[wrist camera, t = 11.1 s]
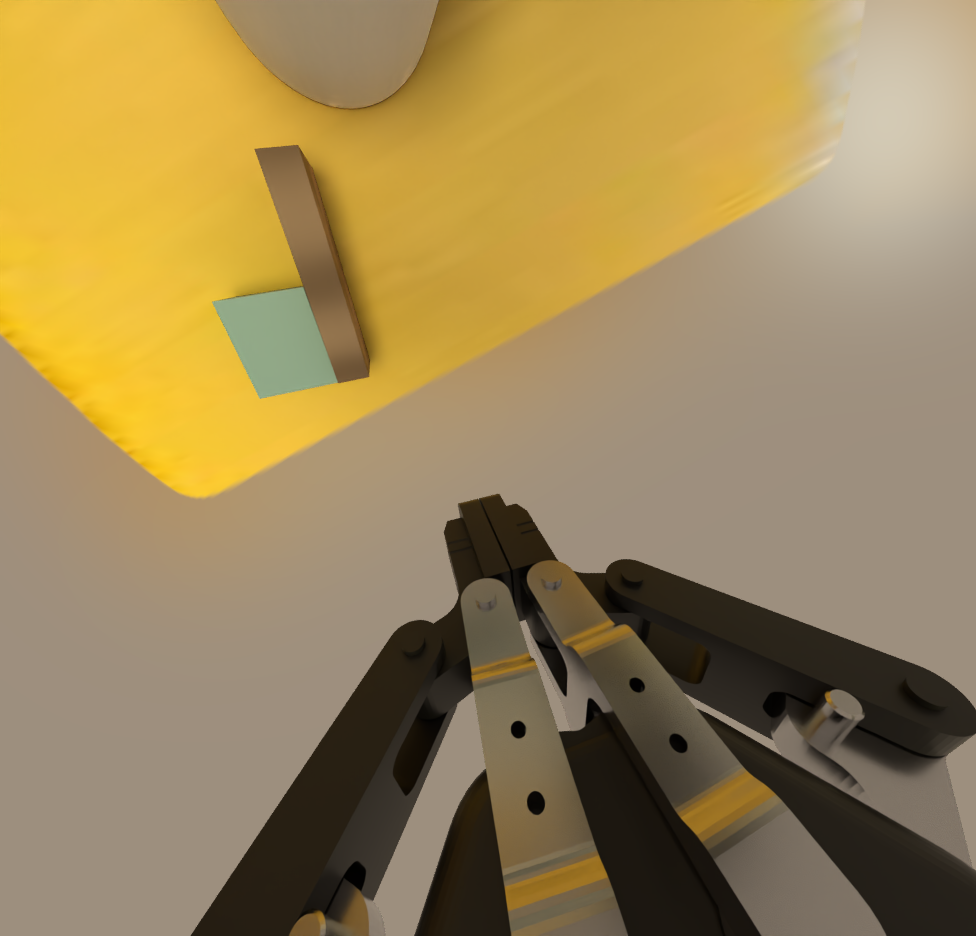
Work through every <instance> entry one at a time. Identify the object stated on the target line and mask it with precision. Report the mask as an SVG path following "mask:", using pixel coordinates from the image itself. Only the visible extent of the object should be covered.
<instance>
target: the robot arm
mask: <svg viewBox="0 0 976 936" xmlns="http://www.w3.org/2000/svg"><path fill="white" fill-rule="evenodd" d="M458 507H459V513H460V518H458V519H454V520H450V521H447V524H446V527H445V530H444V535H445V540H446V544H447V549H448V554H449V558H450V563H451V567H452V571H453V575H454V578H455V582H456V586H457V590H458V594H459V596H458V600H457V603H456V604H455V606H454V608H453V609H452V610H451V611H450V612H449V613H448V614H447V615H446V616H444V617H443V618H441V619H440V620H438V621H437V622H435V623H434V624H433V623H431V622H429V621H424V620H417V621H411V622H409V623H406V624H404V625H403V626H401V627H400V628H398V629H397V630H396V631H395V632H394V633H393V635H392V636H391V637H390V639H389V640H388V642H387V643H386V645H385V646H384V648H383V649H382V651H381V652H380V654H379V655H378V657H377V658H376V660H375V661H374V663H373V664H372V666H371V667H370V669H369V670H368V672H367V673H366V675H365V676H364V678H363V679H362V681H361V682H360V684H359V685H358V687H357V688H356V690H355V691H354V693H353V694H352V696H351V697H350V698H349V700H348V702H347V703H346V705H345V706H344V707H343V709H342V710H341V712H340V713H339V715H338V717H337V718H336V719H335V721H334V722H333V724H332V725H331V727H330V728H329V730H328V731H327V733H326V734H325V736H324V737H323V739H322V740H321V742H320V743H319V745H318V747H317V748H316V749H315V751H314V752H313V754H312V756H311V757H310V758H309V760H308V761H307V763H306V764H305V766H304V767H303V769H302V770H301V772H300V773H299V775H298V776H297V778H296V779H295V781H294V782H293V784H292V785H291V787H290V788H289V790H288V791H287V793H286V794H285V795H284V797H283V798H282V800H281V801H280V803H279V804H278V806H277V808H276V809H275V810H274V812H273V813H272V815H271V816H270V818H269V819H268V821H267V822H266V824H265V826H264V827H263V829H262V830H261V831H260V833H259V834H258V836H257V837H256V839H255V840H254V842H253V843H252V845H251V846H250V848H249V849H248V851H247V852H246V854H245V855H244V857H243V858H242V860H241V861H240V863H239V864H238V866H237V867H236V869H235V870H234V872H233V873H232V875H231V876H230V878H229V879H228V881H227V882H226V884H225V885H224V887H223V888H222V890H221V891H220V892H219V894H218V895H217V897H216V899H215V900H214V902H213V903H212V904H211V906H210V908H209V909H208V911H207V912H206V913H205V915H204V916H203V918H202V919H201V921H200V922H199V924H198V925H197V927H196V928H195V930H194V932H193V933H192V934H191V936H385V928H384V922H383V918H382V915H381V913H380V911H379V909H378V907H377V906H376V904H375V903H374V902H373V900H374V897H375V895H376V893H377V890H378V888H379V886H380V884H381V881H382V879H383V877H384V874H385V872H386V870H387V867H388V865H389V863H390V860H391V858H392V856H393V854H394V851H395V849H396V846H397V844H398V842H399V840H400V837H401V835H402V833H403V830H404V828H405V826H406V824H407V821H408V819H409V817H410V814H411V812H412V809H413V807H414V805H415V803H416V800H417V798H418V796H419V794H420V791H421V789H422V787H423V784H424V782H425V780H426V777H427V775H428V773H429V770H430V768H431V766H432V763H433V761H434V758H435V756H436V754H437V752H438V750H439V747H440V745H441V743H442V740H443V738H444V736H445V733H446V731H447V729H448V727H449V724H450V722H451V719H452V717H453V715H454V713H455V710H456V707H457V703H458V702H460V701H461V700H462V699H464V698H465V697H466V696H467V695H468V694H470V693H471V692H473V691H474V695H475V702H476V708H477V715H478V721H479V727H480V734H481V740H482V746H483V753H484V758H485V765H486V769H485V770H484V771H483V772H482V773H481V774H480V775H479V776H478V777H477V778H476V779H475V780H474V782H473V783H472V784H471V786H470V787H469V788H468V790H467V791H466V793H465V795H464V797H463V799H462V800H461V802H460V804H459V806H458V808H457V811H456V813H455V815H454V817H453V820H452V823H451V825H450V828H449V831H448V835H447V838H446V841H445V844H444V847H443V850H442V853H441V856H440V859H439V862H438V865H437V868H436V872H435V874H434V877H433V881H432V884H431V886H430V890H429V893H428V896H427V899H426V902H425V905H424V908H423V911H422V914H421V917H420V920H419V923H418V926H417V929H416V932H415V935H414V936H976V870H974V869H973V868H972V865H971V860H970V856H969V853H968V848H967V844H966V840H965V836H964V832H963V828H962V824H961V821H960V816H959V812H958V808H957V804H956V801H955V797H954V793H953V789H952V785H951V781H950V777H949V773H948V769H947V765H946V756H947V755H948V754H949V753H951V752H952V751H953V750H954V749H956V748H957V747H959V746H960V745H961V744H963V743H964V742H965V741H967V740H968V739H969V738H971V737H972V736H973V735H974V734H976V710H975V708H974V706H973V705H972V704H971V703H970V701H969V700H968V699H967V698H966V697H965V696H964V695H963V694H962V693H961V692H960V691H959V690H958V689H957V688H955V687H954V686H953V685H951V684H950V683H949V682H947V681H946V680H944V679H943V678H941V677H940V676H938V675H936V674H935V673H933V672H931V671H929V670H927V669H925V668H923V667H920V666H918V665H915V664H912V663H910V662H907V661H905V660H902V659H899V658H896V657H894V656H891V655H888V654H886V653H883V652H880V651H878V650H875V649H872V648H869V647H867V646H864V645H862V644H859V643H856V642H854V641H851V640H848V639H846V638H843V637H840V636H838V635H835V634H832V633H830V632H827V631H824V630H821V629H819V628H816V627H813V626H811V625H808V624H805V623H803V622H800V621H797V620H794V619H792V618H789V617H787V616H784V615H781V614H779V613H776V612H773V611H770V610H768V609H765V608H762V607H760V606H757V605H754V604H752V603H749V602H746V601H744V600H741V599H738V598H736V597H733V596H730V595H728V594H725V593H722V592H719V591H717V590H714V589H711V588H709V587H706V586H703V585H700V584H698V583H695V582H693V581H690V580H687V579H685V578H682V577H679V576H676V575H674V574H671V573H668V572H666V571H663V570H660V569H658V568H655V567H652V566H650V565H647V564H644V563H642V562H639V561H636V560H630V559H623V560H618V561H615V562H613V563H611V564H610V565H609V566H608V568H607V570H606V573H579V572H575V571H573V570H572V569H571V568H570V567H569V566H567V565H566V564H564V563H561V562H559V561H558V560H557V559H556V557H555V555H554V554H553V552H552V550H551V549H550V547H549V546H548V544H547V542H546V541H545V539H544V538H543V536H542V534H541V533H540V531H539V530H538V528H537V526H536V525H535V523H534V522H533V520H532V518H531V516H530V515H529V513H528V512H527V510H525V509H523V508H522V507H520V506H519V505H518V504H513V505H509V506H506V505H505V503H504V502H503V500H502V498H501V496H500V494H496V495H491V496H487V497H483V498H479V500H478V499H475V500H471V501H467V502H463V503H459V504H458ZM523 620H526V622H527V624H528V626H529V629H530V638H531V643H532V645H533V647H534V649H535V651H536V653H537V655H538V657H539V659H540V661H541V663H542V665H543V667H544V669H545V671H546V673H547V675H548V676H549V679H550V681H551V682H552V685H553V687H554V689H555V691H556V692H557V694H558V696H559V698H560V700H561V703H562V705H563V708H564V710H565V714H566V718H567V721H568V724H569V727H570V730H571V731H562V732H558V729H557V726H556V723H555V720H554V716H553V713H552V710H551V707H550V704H549V701H548V698H547V695H546V692H545V689H544V686H543V682H542V680H541V676H540V673H539V671H538V667H537V665H536V662H535V660H534V659H533V658H531V656H530V654H529V651H528V648H527V645H526V641H525V638H524V635H523V632H522V629H521V625H520V623H519V622H520V621H523ZM684 693H685V694H687V695H689V696H691V697H693V698H694V699H696V700H698V701H700V702H702V703H704V704H706V705H708V706H710V707H711V708H713V709H715V710H717V711H719V712H721V713H723V714H725V715H727V716H729V717H730V718H732V719H734V720H736V721H738V722H740V723H741V724H743V725H745V726H747V727H749V728H751V729H753V730H755V731H757V732H758V733H760V734H762V735H764V736H766V737H768V738H770V739H772V740H773V741H774V743H775V745H776V747H777V748H778V750H779V751H780V753H781V755H779V754H778V753H776V752H774V751H772V750H771V749H769V748H767V747H765V746H764V745H762V744H760V743H759V742H757V741H755V740H753V739H752V738H750V737H748V736H746V735H745V734H743V733H741V732H739V731H738V730H736V729H734V728H733V727H731V726H729V725H727V724H725V723H724V722H722V721H720V720H719V719H717V718H715V717H713V716H711V715H710V714H708V713H706V712H703V711H701V710H699V709H697V708H695V707H694V705H693V704H692V703H691V702H690V701H689V699H688V698H687V697H686V695H685V694H684Z"/></svg>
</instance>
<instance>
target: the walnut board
mask: <svg viewBox="0 0 976 936" xmlns="http://www.w3.org/2000/svg"><path fill="white" fill-rule="evenodd" d="M255 152H256V154H257V157H258V160H259V163H260V166H261V168H262V171H263V174H264V177H265V180H266V182H267V185H268V188H269V191H270V194H271V196H272V199H273V202H274V205H275V208H276V210H277V213H278V216H279V219H280V222H281V224H282V227H283V230H284V233H285V236H286V238H287V241H288V244H289V247H290V250H291V252H292V255H293V258H294V261H295V264H296V266H297V269H298V272H299V275H300V278H301V281H302V283H303V286H304V289H305V292H306V295H307V297H308V300H309V303H310V306H311V309H312V311H313V314H314V317H315V320H316V323H317V325H318V328H319V331H320V334H321V337H322V339H323V342H324V345H325V348H326V351H327V353H328V356H329V359H330V362H331V365H332V367H333V370H334V373H335V376H336V379H337V381H338V383H342V382H347V381H351V380H356V379H361V378H366V377H369V367H370V360H369V356H368V353H367V350H366V346H365V343H364V339H363V336H362V333H361V329H360V326H359V323H358V319H357V316H356V313H355V309H354V306H353V303H352V299H351V296H350V293H349V289H348V286H347V283H346V279H345V276H344V273H343V269H342V266H341V263H340V259H339V256H338V253H337V249H336V246H335V243H334V239H333V236H332V233H331V229H330V226H329V223H328V219H327V216H326V212H325V209H324V206H323V202H322V199H321V196H320V192H319V189H318V186H317V182H316V179H315V176H314V172H313V169H312V167H311V166H310V164H309V162H308V161H307V159H306V157H305V156H304V154H303V153H302V151H301V149H300V148H299V146H298V145H293V146H282V147H271V148H260V149H255Z"/></svg>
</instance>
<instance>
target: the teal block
mask: <svg viewBox="0 0 976 936" xmlns="http://www.w3.org/2000/svg"><path fill="white" fill-rule="evenodd" d="M212 303H213V305H214V307H215V309H216V311H217V313H218V315H219V317H220V319H221V321H222V323H223V325H224V327H225V329H226V331H227V333H228V335H229V337H230V339H231V341H232V343H233V345H234V347H235V349H236V351H237V353H238V355H239V357H240V359H241V362H242V364H243V366H244V368H245V370H246V372H247V374H248V376H249V378H250V380H251V382H252V384H253V386H254V388H255V390H256V392H257V394H258V396H259V398H260V399H261V398H266V397H270V396H275V395H280V394H285V393H290V392H295V391H299V390H304V389H309V388H314V387H319V386H324V385H328V384H333V383H338V381H337V379H336V376H335V373H334V370H333V367H332V365H331V362H330V359H329V356H328V353H327V351H326V348H325V345H324V342H323V339H322V337H321V334H320V331H319V328H318V325H317V323H316V320H315V317H314V314H313V311H312V309H311V306H310V303H309V300H308V297H307V295H306V292H305V289H304V286H300V287H294V288H288V289H282V290H276V291H269V292H263V293H257V294H251V295H245V296H238V297H233V298H228V299H224V300H219V301H214V302H212Z"/></svg>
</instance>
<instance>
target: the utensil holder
mask: <svg viewBox="0 0 976 936" xmlns="http://www.w3.org/2000/svg"><path fill="white" fill-rule="evenodd" d="M215 1H216V2H217V4H218V5H219V7H220V8H221V10H222V12H223V13H224V15H225V16H226V18H227V19H228V21H229V22H230V23H231V25H232V26H233V28H234V29H235V31H236V32H237V33H238V35H239V36H240V38H241V39H242V40H243V42H244V43H245V44H246V45H247V47H248V48H249V49H250V50H251V51H252V53H253V54H254V55H255V56H256V57H257V58H258V59H259V60H260V61H261V62H262V64H263V65H264V66H265V67H266V68H267V69H268V70H270V71H271V72H272V73H273V74H274V75H275V76H276V77H278V78H279V79H280V80H281V81H283V82H284V83H285V84H287V85H288V86H290V87H291V88H292V89H294V90H295V91H297V92H299V93H301V94H302V95H304V96H306V97H308V98H310V99H312V100H315V101H317V102H320V103H322V104H325V105H329V106H333V107H339V108H362V107H367V106H371V105H373V104H376V103H379V102H381V101H383V100H384V99H386V98H388V97H389V96H391V95H392V94H393V93H395V92H396V91H397V90H398V89H399V88H400V87H401V86H402V85H403V84H404V83H405V82H406V80H407V79H408V78H409V77H410V76H411V74H412V72H413V71H414V69H415V68H416V66H417V64H418V62H419V59H420V57H421V55H422V53H423V50H424V47H425V45H426V42H427V38H428V35H429V32H430V28H431V25H432V22H433V18H434V15H435V12H436V8H437V5H438V1H439V0H215Z"/></svg>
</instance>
